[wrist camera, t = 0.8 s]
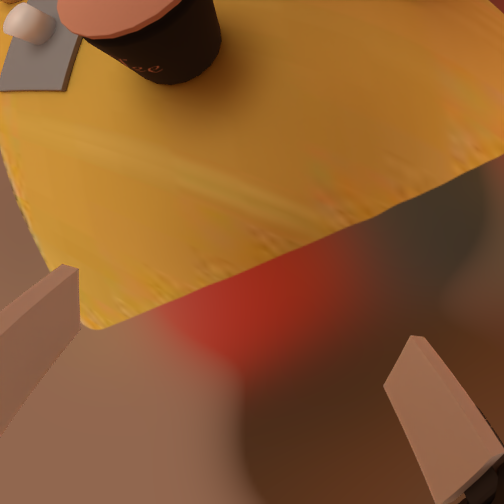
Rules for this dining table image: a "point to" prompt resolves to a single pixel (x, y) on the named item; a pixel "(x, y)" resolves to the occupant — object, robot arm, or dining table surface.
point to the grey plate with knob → (38, 49)
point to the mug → (10, 1)
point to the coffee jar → (149, 34)
